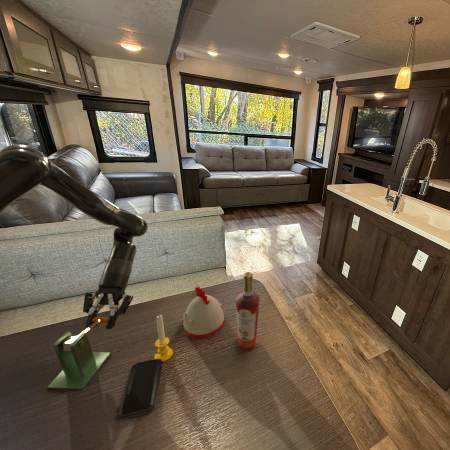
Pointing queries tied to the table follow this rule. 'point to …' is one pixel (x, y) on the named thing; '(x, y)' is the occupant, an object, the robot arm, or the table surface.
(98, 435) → the table surface
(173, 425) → the table surface
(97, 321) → the lever
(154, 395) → the phone
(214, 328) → the kitchen timer
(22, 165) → the robot arm
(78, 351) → the bracket
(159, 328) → the candle
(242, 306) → the liquor
